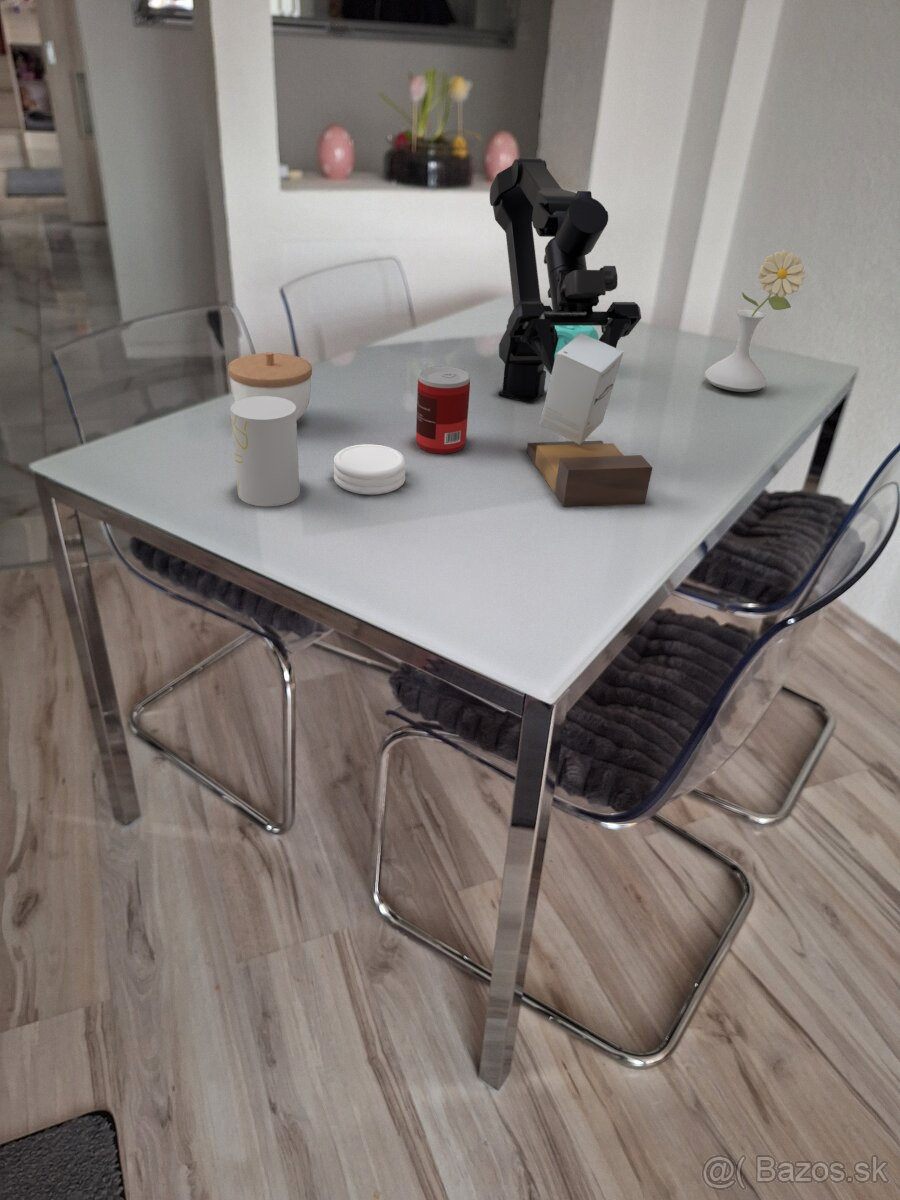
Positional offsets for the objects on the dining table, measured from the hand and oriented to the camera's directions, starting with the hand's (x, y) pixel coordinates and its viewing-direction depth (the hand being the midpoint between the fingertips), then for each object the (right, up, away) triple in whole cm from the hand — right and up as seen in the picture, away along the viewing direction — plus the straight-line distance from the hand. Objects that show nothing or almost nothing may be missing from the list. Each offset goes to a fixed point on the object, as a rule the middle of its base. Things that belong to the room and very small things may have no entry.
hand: (581, 373), depth 123 cm
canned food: (-20, -9, +9) cm, 24 cm away
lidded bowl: (-47, -5, +13) cm, 49 cm away
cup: (-43, -18, -8) cm, 48 cm away
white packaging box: (-1, -6, +6) cm, 8 cm away
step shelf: (+1, -15, +2) cm, 15 cm away
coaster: (-30, -16, -3) cm, 34 cm away
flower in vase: (+36, +8, +39) cm, 54 cm away
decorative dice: (+4, +13, +44) cm, 46 cm away
